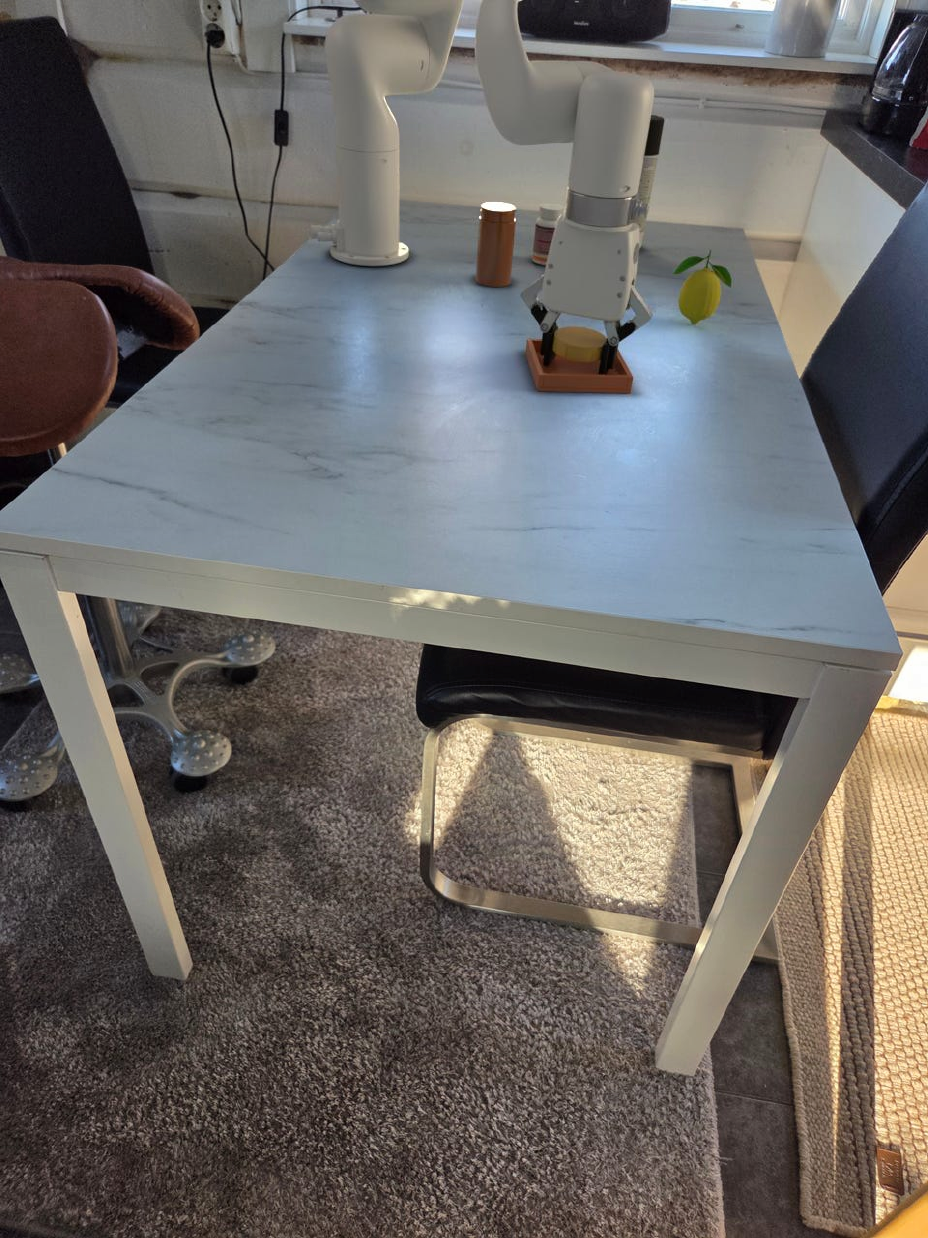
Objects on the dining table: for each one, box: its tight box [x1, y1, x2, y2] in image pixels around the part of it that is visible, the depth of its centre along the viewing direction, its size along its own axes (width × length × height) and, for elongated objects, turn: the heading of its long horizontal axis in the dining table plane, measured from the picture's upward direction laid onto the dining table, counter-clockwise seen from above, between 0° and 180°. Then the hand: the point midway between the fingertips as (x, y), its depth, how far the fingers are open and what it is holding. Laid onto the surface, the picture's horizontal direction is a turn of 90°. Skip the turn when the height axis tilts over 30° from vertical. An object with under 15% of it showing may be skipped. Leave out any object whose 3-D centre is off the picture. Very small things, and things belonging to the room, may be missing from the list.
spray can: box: [633, 114, 665, 250], centre depth 139 cm, size 7×7×20 cm
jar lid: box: [552, 325, 607, 362], centre depth 100 cm, size 6×6×2 cm
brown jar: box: [475, 201, 517, 288], centre depth 124 cm, size 5×5×11 cm
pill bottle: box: [531, 203, 565, 266], centre depth 134 cm, size 5×5×8 cm
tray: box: [524, 338, 634, 394], centre depth 101 cm, size 11×11×2 cm
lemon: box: [672, 249, 732, 325], centre depth 114 cm, size 7×6×10 cm
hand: (576, 366), depth 101 cm, fingers closed on jar lid, 6 cm apart
